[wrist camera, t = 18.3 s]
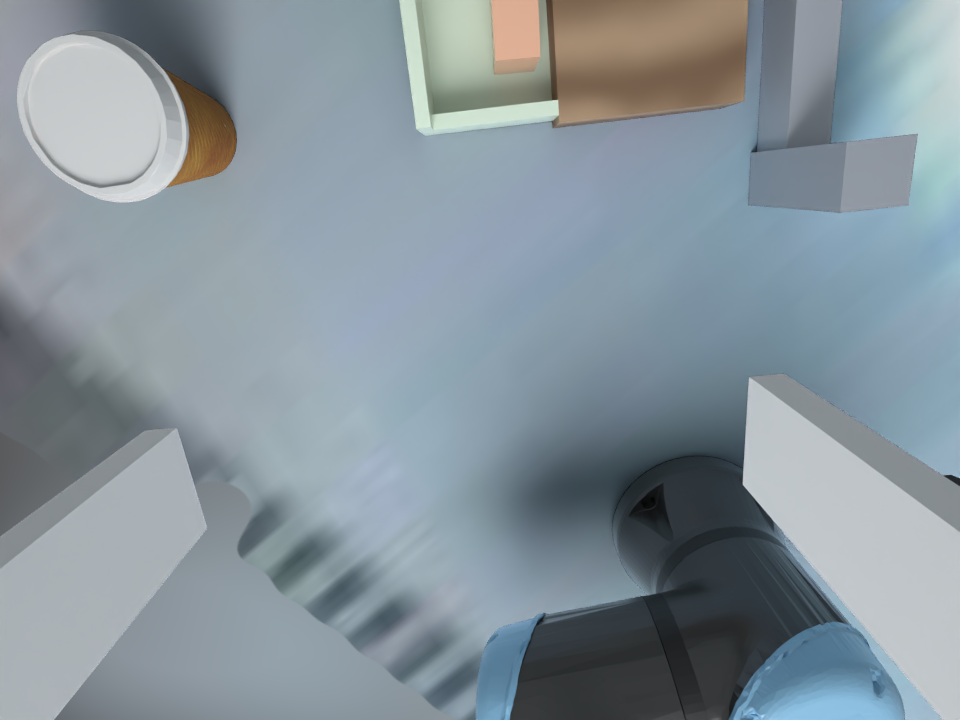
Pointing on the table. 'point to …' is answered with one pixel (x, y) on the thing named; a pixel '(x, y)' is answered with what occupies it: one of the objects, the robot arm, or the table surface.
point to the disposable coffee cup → (118, 118)
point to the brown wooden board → (644, 57)
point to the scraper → (816, 123)
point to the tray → (469, 70)
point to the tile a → (515, 35)
